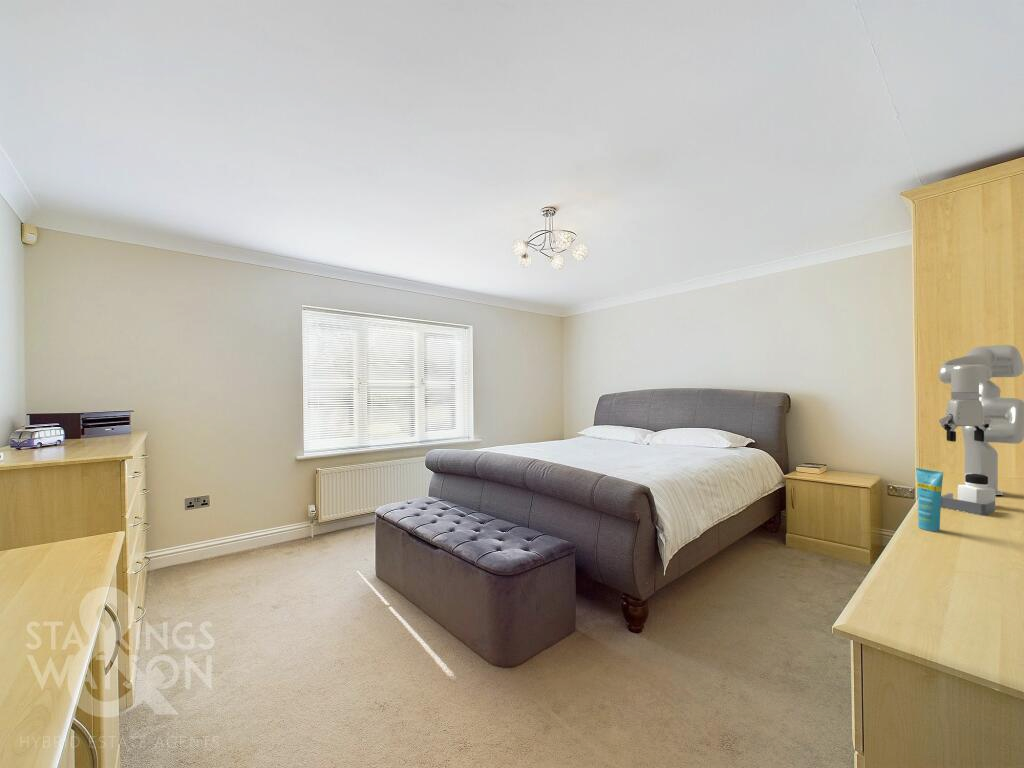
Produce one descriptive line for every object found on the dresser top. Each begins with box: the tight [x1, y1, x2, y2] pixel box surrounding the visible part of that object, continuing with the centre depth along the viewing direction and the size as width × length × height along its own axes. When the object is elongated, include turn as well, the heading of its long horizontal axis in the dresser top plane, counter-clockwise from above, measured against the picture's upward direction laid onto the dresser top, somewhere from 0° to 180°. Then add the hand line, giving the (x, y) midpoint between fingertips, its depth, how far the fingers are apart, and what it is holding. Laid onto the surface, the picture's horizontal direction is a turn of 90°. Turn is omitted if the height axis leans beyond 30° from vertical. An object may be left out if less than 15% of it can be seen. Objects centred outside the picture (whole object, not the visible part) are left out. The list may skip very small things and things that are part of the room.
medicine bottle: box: [957, 473, 996, 504], centre depth 163 cm, size 7×7×12 cm
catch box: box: [941, 492, 996, 517], centre depth 157 cm, size 11×12×4 cm
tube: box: [915, 467, 944, 532], centre depth 136 cm, size 7×5×19 cm, turn 17°
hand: (965, 441), depth 163 cm, fingers open, 9 cm apart
